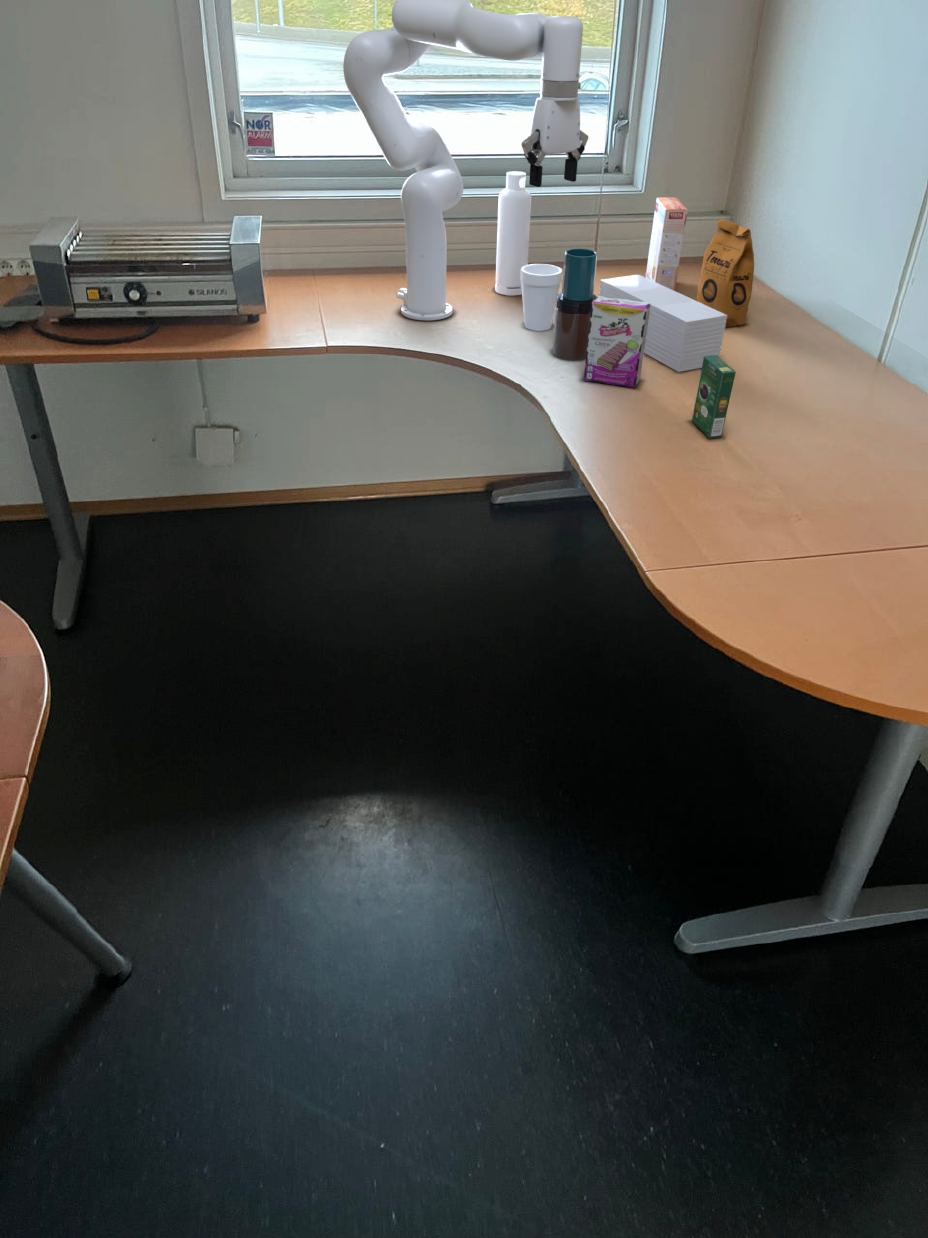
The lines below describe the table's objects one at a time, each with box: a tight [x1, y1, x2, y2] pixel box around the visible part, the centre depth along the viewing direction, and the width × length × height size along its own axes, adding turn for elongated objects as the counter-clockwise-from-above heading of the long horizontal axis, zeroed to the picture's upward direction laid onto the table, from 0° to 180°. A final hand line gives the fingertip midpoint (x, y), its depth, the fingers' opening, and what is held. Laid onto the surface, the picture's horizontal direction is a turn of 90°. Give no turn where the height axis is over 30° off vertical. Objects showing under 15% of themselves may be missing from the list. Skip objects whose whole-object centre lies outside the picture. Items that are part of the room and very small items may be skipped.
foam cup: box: [520, 263, 563, 332], centre depth 213 cm, size 10×9×13 cm
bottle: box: [494, 170, 532, 296], centre depth 230 cm, size 8×8×28 cm
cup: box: [561, 247, 598, 301], centre depth 193 cm, size 7×7×9 cm
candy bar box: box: [583, 295, 651, 389], centre depth 185 cm, size 11×5×16 cm, turn 71°
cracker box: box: [644, 196, 688, 291], centre depth 237 cm, size 14×6×21 cm, turn 179°
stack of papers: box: [598, 274, 727, 373], centre depth 205 cm, size 32×11×11 cm, turn 27°
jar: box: [552, 306, 591, 362], centre depth 199 cm, size 8×8×12 cm
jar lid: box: [555, 291, 597, 314], centre depth 196 cm, size 8×8×2 cm
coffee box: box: [691, 355, 737, 440], centre depth 168 cm, size 8×3×13 cm, turn 13°
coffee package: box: [696, 218, 755, 328], centre depth 216 cm, size 10×12×22 cm
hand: (552, 182), depth 193 cm, fingers open, 9 cm apart
